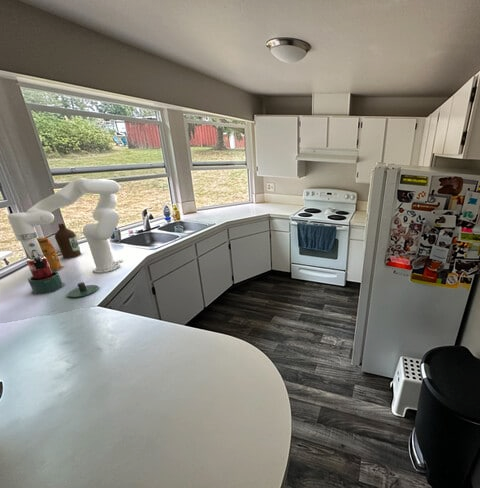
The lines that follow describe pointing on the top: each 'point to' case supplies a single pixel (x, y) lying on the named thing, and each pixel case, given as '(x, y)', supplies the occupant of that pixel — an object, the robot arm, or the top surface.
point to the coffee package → (49, 254)
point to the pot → (46, 284)
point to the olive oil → (67, 242)
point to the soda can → (40, 273)
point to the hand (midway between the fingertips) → (39, 266)
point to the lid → (83, 290)
